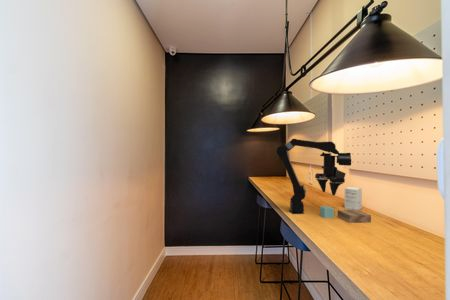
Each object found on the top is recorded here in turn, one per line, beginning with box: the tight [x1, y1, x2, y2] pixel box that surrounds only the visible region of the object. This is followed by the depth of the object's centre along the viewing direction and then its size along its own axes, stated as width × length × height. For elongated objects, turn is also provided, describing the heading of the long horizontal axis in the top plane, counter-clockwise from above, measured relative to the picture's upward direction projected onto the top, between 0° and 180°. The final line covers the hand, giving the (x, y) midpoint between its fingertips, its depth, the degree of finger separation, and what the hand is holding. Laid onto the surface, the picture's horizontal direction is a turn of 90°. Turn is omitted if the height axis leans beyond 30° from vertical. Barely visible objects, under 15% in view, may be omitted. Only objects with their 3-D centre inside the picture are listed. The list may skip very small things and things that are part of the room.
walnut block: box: [337, 209, 372, 224], centre depth 114 cm, size 11×10×4 cm
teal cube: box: [319, 205, 335, 219], centre depth 119 cm, size 5×5×5 cm
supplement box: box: [344, 186, 363, 211], centre depth 136 cm, size 7×7×13 cm
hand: (328, 193), depth 121 cm, fingers open, 9 cm apart
